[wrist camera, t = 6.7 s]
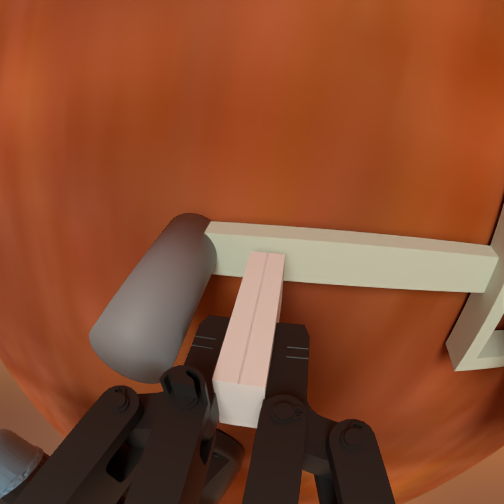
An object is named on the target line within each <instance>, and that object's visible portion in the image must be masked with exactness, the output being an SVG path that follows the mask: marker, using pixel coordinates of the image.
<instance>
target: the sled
mask: <svg viewBox="0 0 504 504" xmlns="http://www.w3.org/2000/svg"><path fill="white" fill-rule="evenodd" d="M251 251H254V252H265V253H277V254H285V264H284V277H283V281H295V282H308V283H321V284H335V285H349V286H363V287H379V288H395V289H413V290H431V291H452V292H471V294H470V296H469V298H468V300H467V302H466V304H465V307H464V309H463V311H462V313H461V315H460V317H459V319H458V321H457V323H456V325H455V327H454V328H453V330H452V332H451V334H450V336H449V338H448V340H447V341H446V343H445V344H446V347H447V350H448V353H449V356H450V359H451V362H452V365H453V369H454V371H464V370H476V369H487V368H496V367H504V330H494V329H495V328H496V326H497V324H498V323H499V321H500V319H501V317H502V315H503V314H504V205H503V208H502V211H501V215H500V218H499V221H498V224H497V227H496V230H495V233H494V236H493V239H492V242H491V245H490V246H488V245H480V244H471V243H463V242H454V241H445V240H435V239H426V238H416V237H406V236H396V235H386V234H375V233H364V232H353V231H341V230H329V229H316V228H304V227H290V226H276V225H262V224H247V223H231V222H214V221H210V220H208V219H207V218H205V217H203V216H201V215H198V214H193V213H185V214H181V215H178V216H176V217H175V218H173V219H172V220H171V221H170V223H169V224H168V225H167V226H166V228H165V229H164V230H163V231H162V233H161V234H160V235H159V237H158V238H157V239H156V240H155V242H154V243H153V244H152V246H151V247H150V248H149V249H148V251H147V252H146V253H145V255H144V256H143V257H142V259H141V260H140V261H139V263H138V264H137V265H136V267H135V268H134V269H133V271H132V272H131V273H130V275H129V276H128V278H127V279H126V280H125V282H124V283H123V284H122V286H121V287H120V289H119V290H118V291H117V293H116V294H115V296H114V297H113V298H112V300H111V301H110V303H109V304H108V306H107V307H106V308H105V310H104V311H103V313H102V314H101V316H100V317H99V319H98V320H97V322H96V323H95V325H94V326H93V328H92V329H91V331H90V333H89V340H90V343H91V346H92V348H93V350H94V351H95V353H96V354H97V355H98V357H99V358H100V359H101V360H102V361H103V362H104V363H105V364H107V365H108V366H109V367H110V368H112V369H113V370H114V371H116V372H118V373H119V374H121V375H123V376H125V377H127V378H129V379H132V380H135V381H138V382H142V383H149V384H155V383H161V382H160V377H161V376H162V375H163V373H164V372H165V371H167V370H168V369H170V368H172V367H173V365H174V362H175V360H176V357H177V355H178V353H179V350H180V348H181V345H182V343H183V340H184V338H185V336H186V333H187V331H188V328H189V326H190V324H191V321H192V319H193V317H194V314H195V312H196V309H197V307H198V305H199V302H200V300H201V298H202V295H203V293H204V291H205V288H206V286H207V284H208V281H209V279H210V277H211V274H216V275H226V276H237V277H243V276H244V273H245V269H246V266H247V263H248V260H249V256H250V253H251Z"/></svg>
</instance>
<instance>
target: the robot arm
mask: <svg viewBox="0 0 504 504" xmlns="http://www.w3.org/2000/svg"><path fill="white" fill-rule="evenodd" d="M284 264H285V254H277V253H265V252H254V251H251V253H250V256H249V260H248V263H247V266H246V269H245V273H244V276H243V279H242V283H241V286H240V289H239V292H238V296H237V299H236V302H235V306H234V309H233V312H232V316H231V318H226V317H218V316H211V315H209V316H208V317H207V318H206V319H205V320H204V321H203V322H202V323H201V324H200V325H199V328H198V330H197V333H196V336H195V338H194V340H193V343H192V346H191V348H190V351H189V353H188V356H187V358H186V361H185V363H184V365H179V366H175V367H172V368H170V369H168V370H167V371H165V372H164V373H163V375H162V376H161V377H160V382H161V384H162V387H163V390H164V391H163V392H159V393H149V394H137V393H136V392H135V391H134V390H133V389H132V388H130V387H127V386H124V385H123V386H114V387H111V388H109V389H108V390H106V391H105V392H104V393H103V394H102V395H101V396H100V398H99V399H98V400H97V401H96V402H95V404H94V405H93V406H92V407H91V408H90V409H89V411H88V412H87V413H86V414H85V415H84V417H83V418H82V419H81V420H80V421H79V423H78V424H77V425H76V426H75V427H74V428H73V430H72V431H71V432H70V433H69V434H68V436H67V437H66V438H65V439H64V440H63V442H62V443H61V444H60V445H59V447H58V448H57V449H56V450H55V451H54V453H53V454H52V455H51V456H49V455H47V454H46V453H44V452H43V450H42V449H41V448H39V447H38V446H34V445H32V444H30V443H29V442H27V441H26V440H24V439H23V438H21V437H20V436H18V435H17V434H16V433H14V432H12V431H10V430H8V429H0V504H218V503H219V501H220V500H221V498H222V497H223V495H224V494H225V492H226V491H227V489H228V488H229V486H230V484H231V483H232V481H233V480H234V478H235V477H236V475H237V473H238V472H239V470H240V468H241V465H242V460H243V455H244V450H243V448H242V447H241V445H240V444H239V443H238V442H236V441H235V440H234V439H232V438H231V437H229V436H228V435H226V434H224V433H222V432H220V431H218V430H216V426H217V422H218V419H219V421H220V423H225V424H231V425H237V426H244V427H251V428H257V430H256V435H255V441H254V446H253V451H252V456H251V462H250V467H249V472H248V477H247V482H246V487H245V492H244V497H243V502H242V504H298V500H299V492H300V484H301V475H302V470H305V471H307V472H310V473H313V474H314V477H315V482H316V487H317V492H318V497H319V503H320V504H395V501H394V497H393V494H392V490H391V487H390V483H389V480H388V476H387V473H386V470H385V466H384V463H383V460H382V457H381V453H380V450H379V447H378V444H377V441H376V437H375V434H374V432H373V431H372V429H371V427H370V426H369V425H367V424H366V423H365V422H363V421H360V420H357V419H347V420H344V421H341V422H339V423H338V422H335V421H332V420H329V419H327V418H324V417H322V416H320V415H318V414H317V413H315V412H314V411H313V410H312V409H311V407H310V406H309V404H308V401H307V378H308V358H309V337H310V336H309V334H308V332H307V330H306V328H305V326H304V325H299V324H288V323H279V318H280V310H281V303H282V290H283V277H284Z"/></svg>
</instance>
